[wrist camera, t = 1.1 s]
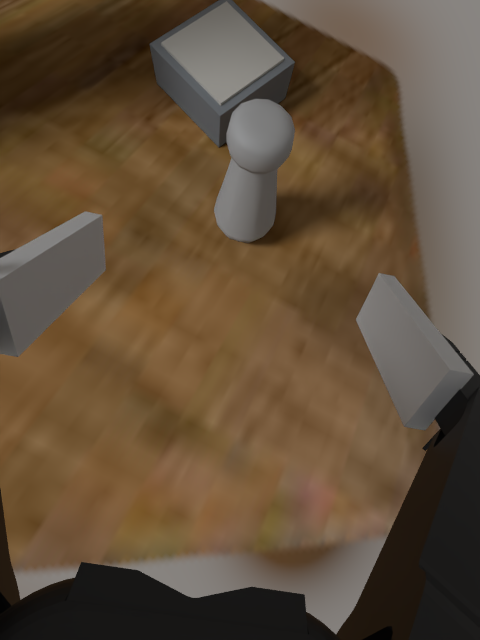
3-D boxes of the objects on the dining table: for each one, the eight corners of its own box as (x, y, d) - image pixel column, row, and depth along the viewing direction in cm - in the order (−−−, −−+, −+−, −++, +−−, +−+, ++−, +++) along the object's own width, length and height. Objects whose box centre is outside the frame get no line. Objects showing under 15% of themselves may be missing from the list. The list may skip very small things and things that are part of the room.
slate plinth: (156, 83, 33) (148, 41, 29) (225, 37, 35) (227, -8, 31) (219, 147, 32) (220, 113, 28) (285, 97, 34) (295, 59, 30)
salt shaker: (238, 187, 32) (255, 62, 19) (281, 220, 31) (329, 116, 19) (202, 227, 31) (195, 122, 18) (247, 262, 30) (273, 181, 18)
